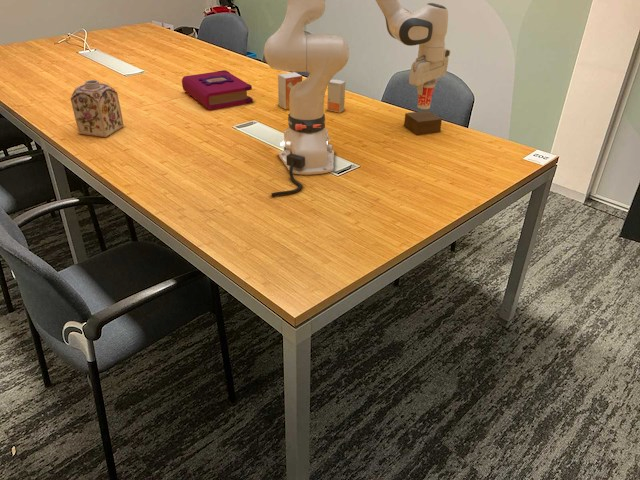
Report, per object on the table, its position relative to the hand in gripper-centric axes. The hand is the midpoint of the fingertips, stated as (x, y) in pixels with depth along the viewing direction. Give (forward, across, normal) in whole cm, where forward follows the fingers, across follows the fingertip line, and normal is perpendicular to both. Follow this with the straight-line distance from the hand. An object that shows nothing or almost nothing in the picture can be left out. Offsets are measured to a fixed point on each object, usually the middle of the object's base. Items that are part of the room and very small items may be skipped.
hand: (425, 92), depth 193 cm
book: (+14, -30, +84) cm, 91 cm away
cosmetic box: (+14, -7, +37) cm, 40 cm away
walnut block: (+14, 0, 0) cm, 14 cm away
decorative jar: (+14, -84, +84) cm, 120 cm away
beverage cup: (+6, 0, 0) cm, 6 cm away
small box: (+14, -17, +53) cm, 58 cm away
